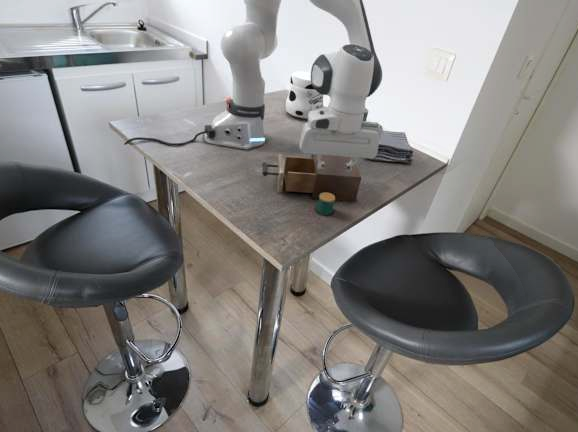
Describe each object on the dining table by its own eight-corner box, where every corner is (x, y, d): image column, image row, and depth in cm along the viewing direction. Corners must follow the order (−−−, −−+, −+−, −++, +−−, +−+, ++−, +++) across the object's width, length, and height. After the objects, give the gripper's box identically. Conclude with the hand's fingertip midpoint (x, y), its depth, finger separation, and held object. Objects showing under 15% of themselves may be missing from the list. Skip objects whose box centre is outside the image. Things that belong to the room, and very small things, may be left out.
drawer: (261, 191, 103) (263, 171, 99) (261, 171, 113) (263, 152, 109) (318, 195, 106) (322, 175, 102) (313, 175, 116) (316, 157, 112)
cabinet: (312, 198, 106) (317, 173, 101) (308, 176, 117) (311, 153, 112) (355, 201, 108) (361, 177, 103) (346, 179, 119) (352, 156, 114)
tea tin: (317, 214, 99) (320, 200, 96) (315, 205, 103) (318, 191, 100) (333, 215, 100) (336, 201, 97) (330, 206, 103) (333, 192, 100)
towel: (359, 144, 145) (363, 126, 140) (401, 148, 147) (407, 131, 143) (367, 161, 132) (372, 142, 128) (412, 165, 135) (419, 147, 130)
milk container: (321, 125, 157) (329, 84, 146) (283, 119, 156) (288, 78, 145) (321, 112, 171) (327, 73, 160) (285, 107, 170) (290, 68, 159)
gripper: (381, 118, 90) (368, 166, 98) (302, 111, 86) (296, 161, 94) (388, 128, 85) (374, 177, 92) (305, 120, 81) (298, 172, 89)
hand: (334, 169), depth 93 cm, fingers open, 6 cm apart
